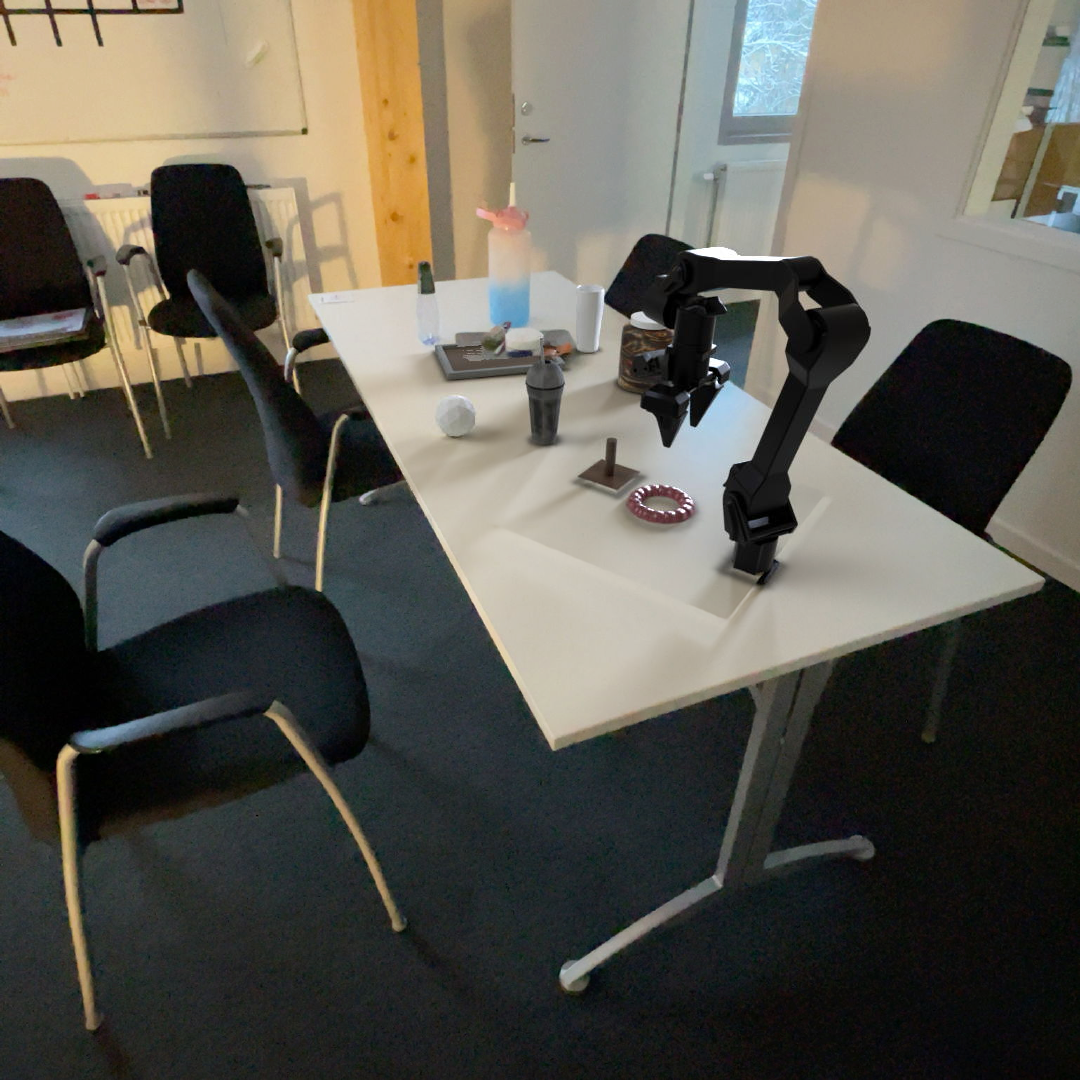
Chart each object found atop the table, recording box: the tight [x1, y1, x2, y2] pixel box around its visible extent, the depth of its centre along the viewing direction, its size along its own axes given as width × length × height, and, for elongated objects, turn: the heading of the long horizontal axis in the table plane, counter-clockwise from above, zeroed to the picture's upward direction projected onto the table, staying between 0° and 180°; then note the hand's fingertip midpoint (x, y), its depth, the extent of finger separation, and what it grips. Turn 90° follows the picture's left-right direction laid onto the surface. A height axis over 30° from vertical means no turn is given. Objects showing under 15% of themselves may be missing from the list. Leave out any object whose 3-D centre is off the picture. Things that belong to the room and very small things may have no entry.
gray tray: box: [434, 341, 566, 381], centre depth 176 cm, size 19×2×30 cm
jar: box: [617, 311, 674, 395], centre depth 161 cm, size 12×12×15 cm
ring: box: [626, 484, 696, 525], centre depth 120 cm, size 11×11×2 cm
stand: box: [577, 437, 641, 491], centre depth 127 cm, size 8×8×8 cm
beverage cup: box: [524, 338, 566, 446], centre depth 136 cm, size 7×7×20 cm
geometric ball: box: [434, 394, 477, 438], centre depth 141 cm, size 8×8×8 cm
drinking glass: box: [574, 283, 605, 354], centre depth 179 cm, size 7×7×15 cm
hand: (680, 436), depth 117 cm, fingers open, 9 cm apart
